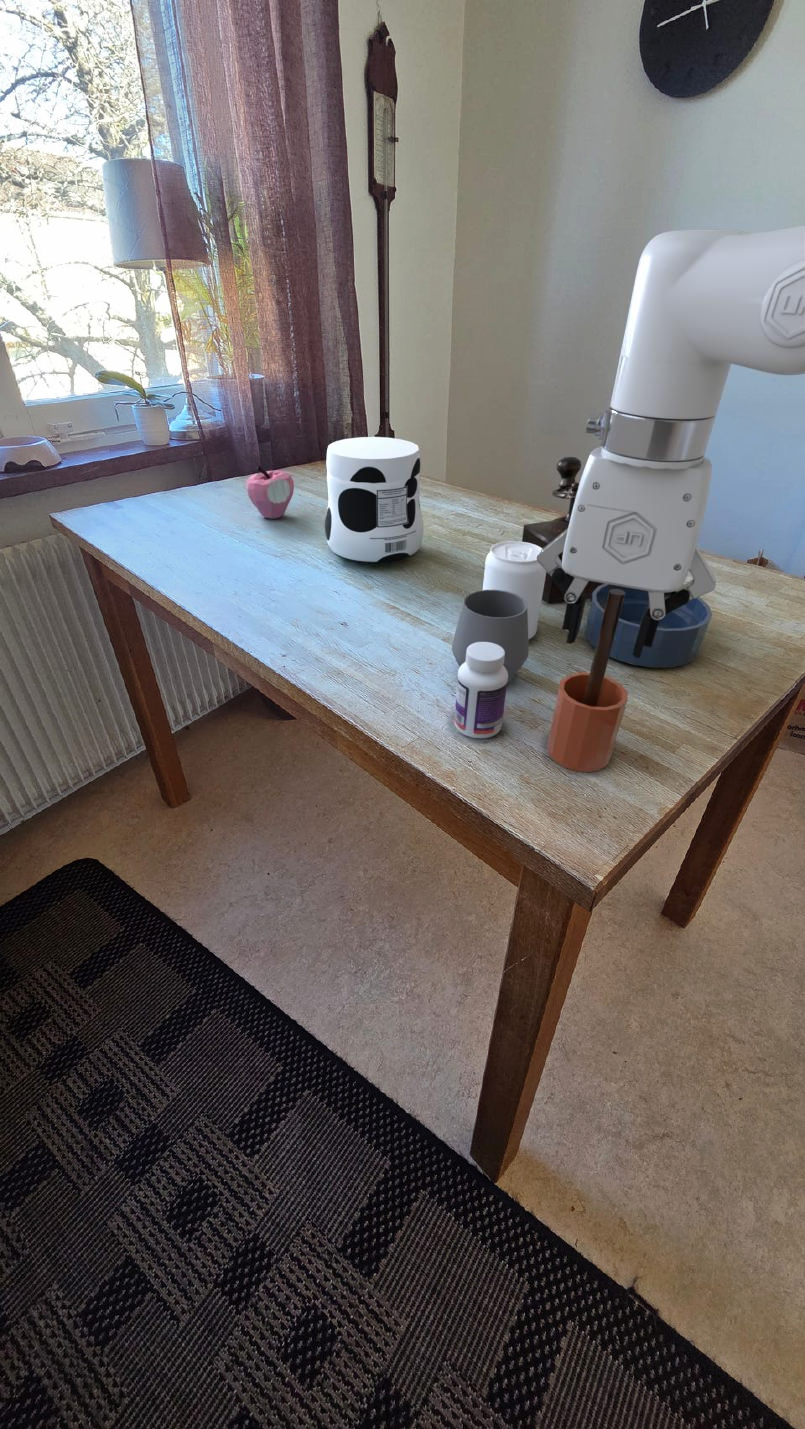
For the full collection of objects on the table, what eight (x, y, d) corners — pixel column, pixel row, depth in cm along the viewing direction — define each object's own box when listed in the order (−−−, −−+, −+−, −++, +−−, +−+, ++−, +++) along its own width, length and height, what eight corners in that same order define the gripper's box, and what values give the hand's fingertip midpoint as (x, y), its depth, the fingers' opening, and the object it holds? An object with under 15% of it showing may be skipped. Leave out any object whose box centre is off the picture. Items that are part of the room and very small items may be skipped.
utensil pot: (623, 763, 63) (642, 701, 58) (569, 778, 61) (584, 715, 56) (586, 727, 68) (600, 667, 63) (534, 740, 66) (546, 679, 61)
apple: (259, 526, 119) (253, 474, 113) (243, 514, 125) (236, 463, 119) (303, 518, 123) (299, 467, 117) (286, 507, 129) (281, 457, 123)
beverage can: (537, 622, 88) (550, 543, 81) (534, 649, 82) (548, 566, 75) (482, 615, 90) (490, 537, 83) (475, 642, 83) (483, 559, 76)
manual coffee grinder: (608, 595, 96) (635, 478, 85) (547, 605, 93) (568, 485, 82) (556, 559, 108) (575, 452, 97) (501, 566, 105) (514, 457, 94)
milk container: (355, 530, 118) (352, 431, 107) (437, 545, 112) (442, 442, 101) (308, 561, 105) (299, 452, 95) (397, 580, 100) (398, 466, 89)
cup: (517, 655, 81) (527, 586, 75) (530, 695, 73) (543, 622, 67) (447, 655, 80) (451, 586, 74) (453, 695, 73) (459, 621, 67)
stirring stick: (593, 747, 64) (634, 591, 54) (591, 754, 63) (632, 598, 53) (567, 740, 65) (602, 586, 55) (564, 747, 64) (600, 592, 54)
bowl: (722, 659, 81) (738, 619, 77) (630, 680, 76) (642, 639, 72) (646, 610, 92) (657, 573, 88) (562, 626, 87) (569, 588, 84)
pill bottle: (507, 718, 69) (518, 644, 63) (493, 745, 65) (503, 669, 60) (463, 706, 71) (469, 633, 65) (446, 731, 67) (452, 657, 61)
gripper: (533, 435, 46) (505, 643, 57) (783, 461, 41) (700, 685, 51) (554, 418, 51) (525, 610, 62) (776, 439, 46) (702, 645, 57)
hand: (604, 642), depth 57 cm, fingers open, 5 cm apart
